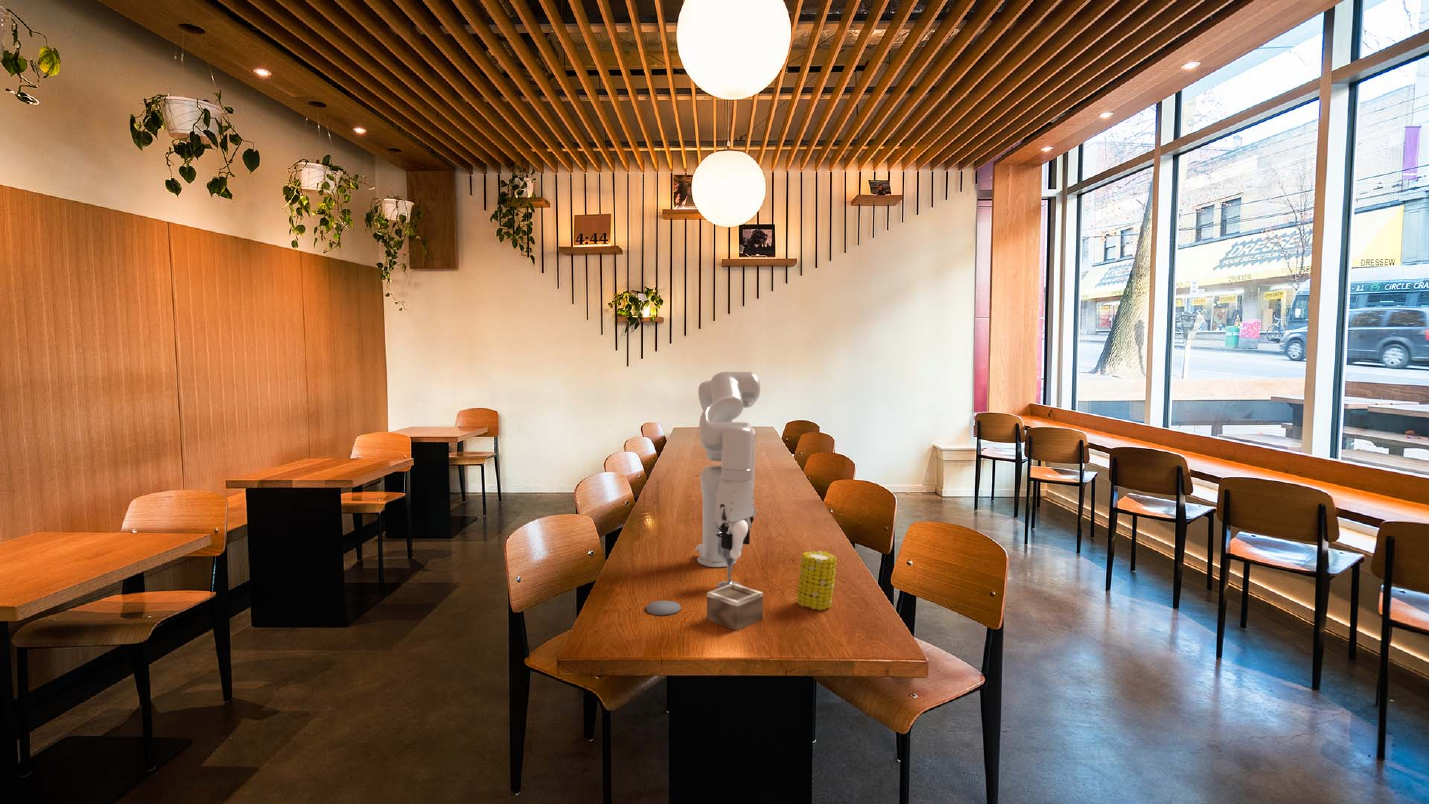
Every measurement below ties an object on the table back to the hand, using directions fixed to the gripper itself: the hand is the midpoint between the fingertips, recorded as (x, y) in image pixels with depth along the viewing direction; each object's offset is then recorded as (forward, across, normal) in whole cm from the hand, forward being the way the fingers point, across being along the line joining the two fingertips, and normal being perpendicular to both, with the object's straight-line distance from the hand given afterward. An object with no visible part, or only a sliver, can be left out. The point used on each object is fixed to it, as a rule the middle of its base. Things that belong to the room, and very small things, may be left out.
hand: (735, 545), depth 167 cm
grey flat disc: (+19, +8, -18) cm, 27 cm away
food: (+19, -23, +9) cm, 31 cm away
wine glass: (+19, -18, -18) cm, 32 cm away
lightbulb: (+4, 0, 0) cm, 4 cm away
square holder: (+19, 0, 0) cm, 19 cm away
